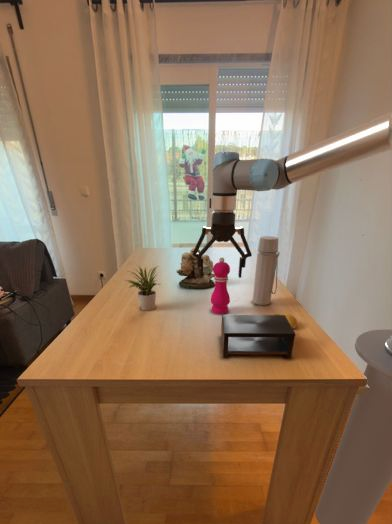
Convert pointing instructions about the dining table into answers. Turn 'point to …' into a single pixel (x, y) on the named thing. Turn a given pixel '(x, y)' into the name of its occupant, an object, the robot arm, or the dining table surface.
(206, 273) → the owl figurine
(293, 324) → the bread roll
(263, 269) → the water bottle
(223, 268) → the pepper mill
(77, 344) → the dining table surface
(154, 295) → the house plant
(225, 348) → the rack
